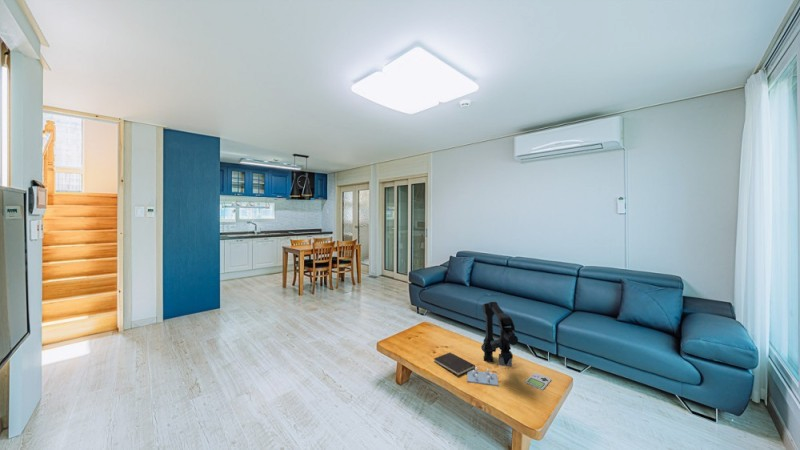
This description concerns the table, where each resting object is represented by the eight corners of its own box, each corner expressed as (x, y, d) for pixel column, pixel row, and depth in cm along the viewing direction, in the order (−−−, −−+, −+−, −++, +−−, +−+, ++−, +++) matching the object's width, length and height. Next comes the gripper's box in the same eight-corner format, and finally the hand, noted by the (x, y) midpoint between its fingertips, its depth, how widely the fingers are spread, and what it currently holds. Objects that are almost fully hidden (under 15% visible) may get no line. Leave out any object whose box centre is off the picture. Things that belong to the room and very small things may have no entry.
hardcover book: (458, 376, 173) (457, 372, 173) (433, 361, 192) (433, 358, 193) (475, 368, 182) (475, 364, 182) (450, 355, 201) (450, 352, 201)
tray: (467, 371, 180) (467, 364, 180) (496, 375, 176) (496, 368, 176) (467, 381, 169) (467, 374, 169) (498, 386, 164) (498, 379, 164)
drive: (498, 361, 172) (498, 353, 172) (510, 362, 171) (510, 354, 171) (499, 365, 168) (499, 357, 168) (511, 366, 166) (511, 358, 166)
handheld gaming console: (551, 378, 170) (542, 388, 160) (551, 380, 170) (542, 391, 160) (534, 371, 177) (524, 381, 167) (534, 373, 177) (524, 383, 167)
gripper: (490, 329, 180) (490, 353, 180) (492, 342, 162) (492, 369, 162) (508, 331, 177) (508, 355, 178) (512, 344, 159) (512, 371, 160)
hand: (505, 362), depth 169 cm, fingers closed on drive, 4 cm apart
